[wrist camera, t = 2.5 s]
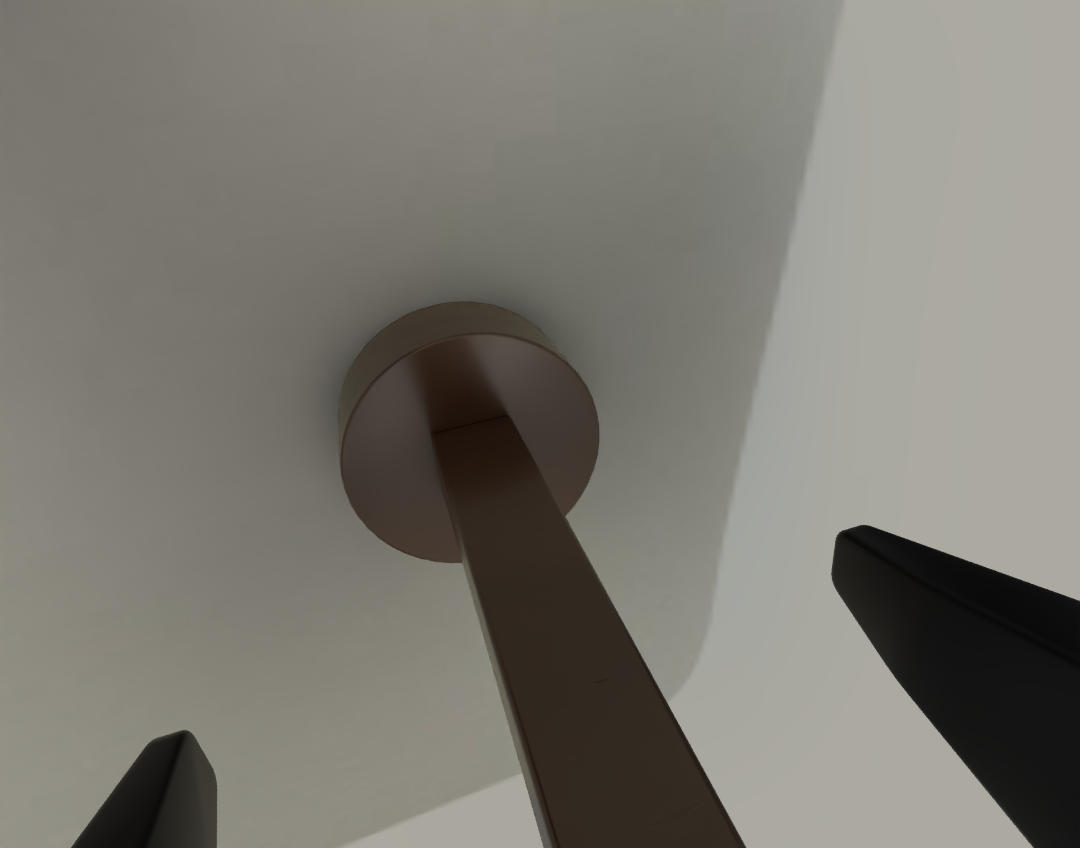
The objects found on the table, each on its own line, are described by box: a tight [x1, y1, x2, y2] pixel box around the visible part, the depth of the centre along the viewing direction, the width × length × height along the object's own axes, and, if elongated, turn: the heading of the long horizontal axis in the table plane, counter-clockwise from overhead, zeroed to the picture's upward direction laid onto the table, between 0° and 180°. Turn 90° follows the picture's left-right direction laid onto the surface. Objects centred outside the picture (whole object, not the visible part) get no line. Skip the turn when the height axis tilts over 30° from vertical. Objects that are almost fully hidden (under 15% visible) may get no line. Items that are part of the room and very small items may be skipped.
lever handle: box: [338, 302, 746, 848], centre depth 10 cm, size 5×5×11 cm
